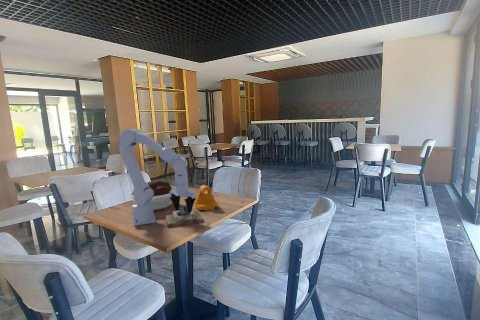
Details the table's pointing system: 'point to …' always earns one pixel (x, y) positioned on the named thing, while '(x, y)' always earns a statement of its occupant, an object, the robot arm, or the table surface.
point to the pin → (183, 210)
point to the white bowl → (160, 194)
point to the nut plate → (183, 218)
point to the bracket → (205, 199)
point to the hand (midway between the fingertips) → (183, 211)
